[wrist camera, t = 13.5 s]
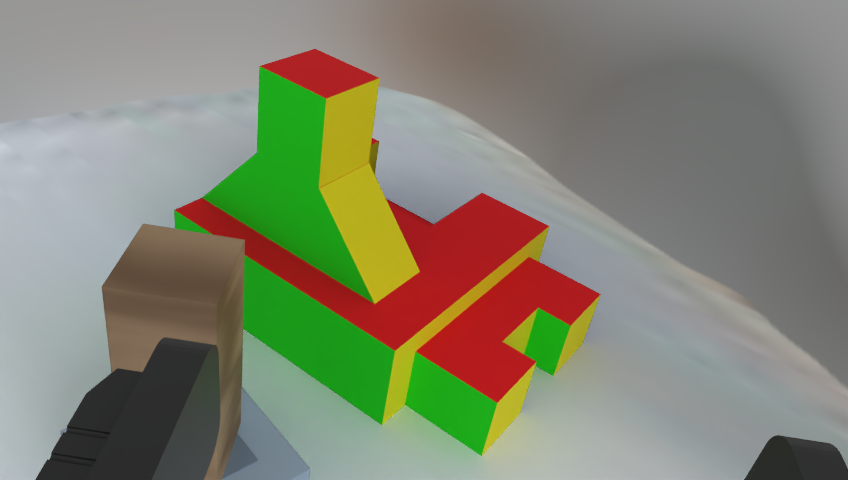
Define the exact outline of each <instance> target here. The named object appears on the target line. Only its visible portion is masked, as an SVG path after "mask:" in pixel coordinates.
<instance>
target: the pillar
mask: <svg viewBox="0 0 848 480" xmlns="http://www.w3.org/2000/svg"><path fill="white" fill-rule="evenodd" d="M244 256H245V240H243V239H236V238H230V237H224V236H217V235H211V234H205V233H198V232H192V231H186V230H179V229H173V228H167V227H160V226H154V225H148V224H143V225H142V226H141V228H140V229H139V231H138V232H137V234H136V235H135V237H134V238H133V240H132V241H131V243H130V245H129V246H128V248H127V249H126V251H125V252H124V254H123V255H122V257H121V258H120V260H119V261H118V263H117V264H116V266H115V267H114V269H113V270H112V272H111V274H110V275H109V277H108V278H107V280H106V281H105V283H104V284H103V286H102V293H103V302H104V311H105V319H106V328H107V337H108V346H109V354H110V363H111V372H114V371H115V370H116V369H117V368H119V369H126V370H132V371H138V372H143V370H144V368H145V366H146V364H147V362H148V361H149V359H150V357H151V355H152V353H153V351H154V349H155V347H156V346H157V344H158V342H159V341H160V340H161V339H162V338H164V337H168V338H174V339H180V340H187V341H193V342H199V343H206V344H212V345H216V346H217V348H218V352H219V379H220V427H219V433H218V438H217V443H216V447H215V451H214V454H213V457H212V460H211V463H210V465H209V468H208V470H207V473H206V476H205V478H204V480H222V477H223V474H224V471H225V468H226V465H227V462H228V459H229V456H230V453H231V450H232V447H233V444H234V441H235V438H236V435H237V432H238V429H239V426H240V423H241V390H242V345H243V301H244Z"/></svg>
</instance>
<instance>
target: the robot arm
mask: <svg viewBox="0 0 848 480" xmlns="http://www.w3.org/2000/svg"><path fill="white" fill-rule="evenodd" d="M219 427H220V379H219V352H218V348H217V346H216V345H212V344H206V343H199V342H193V341H187V340H180V339H174V338H168V337H164V338H162V339H161V340H160V341H159V342H158V344H157V346H156V347H155V349H154V351H153V353H152V355H151V357H150V359H149V361H148V362H147V364H146V366H145V368H144V370H143V372H138V371H132V370H126V369H119V368H117V369H116V370H115V371H114V372H112V373H111V374H110V375H109V376H107V377H106V378H105V379H104V380H103V381H101V382H100V383H99V384H98V385H96V386H95V387H94V388H93V389H91V390H90V391H89V392H88V393H87V394H86V395H85V397H84V398H83V400H82V402H81V403H80V405H79V407H78V409H77V410H76V412H75V414H74V415H73V417H72V419H71V420H70V422H69V424H68V425H67V431H66V432H65V433H64V432H63V434H62V436H61V437H60V439H59V441H58V442H57V444H56V446H55V447H54V449H53V451H52V454H51V458H50V460H47V461H46V463H45V464H44V466H43V468H42V469H41V471H40V473H39V475H38V476H37V478H36V480H204V478H205V476H206V473H207V470H208V468H209V465H210V463H211V460H212V457H213V454H214V451H215V447H216V443H217V438H218V433H219ZM744 480H848V469H847V467H846V464H845V462H844V460H843V458H842V456H841V454H840V452H839V451H838V449H837V448H836V447H835V446H833V445H832V444H829V443H823V442H817V441H810V440H804V439H798V438H791V437H785V436H779V435H778V436H774V437H772V438H771V439H770V440H769V441H768V442H767V444H766V445H765V447H764V449H763V450H762V452H761V453H760V455H759V457H758V458H757V460H756V462H755V463H754V465H753V466H752V468H751V470H750V471H749V473H748V475H747V476H746V478H745V479H744Z"/></svg>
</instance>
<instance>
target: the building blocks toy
mask: <svg viewBox="0 0 848 480" xmlns="http://www.w3.org/2000/svg"><path fill="white" fill-rule="evenodd" d="M378 86H379V78H378V77H375V76H374V75H371V74H369V73H367V72H365V71H362V70H360V69H358V68H356V67H354V66H352V65H349V64H347V63H345V62H343V61H340V60H338V59H336V58H334V57H332V56H330V55H327V54H325V53H323V52H321V51H319V50H316V49H313V50H310V51H307V52H304V53H301V54H297V55H294V56H291V57H288V58H285V59H281V60H278V61H275V62H272V63H268V64H265V65H262V66H260V70H259V103H258V137H257V153H256V154H255V155H254V156H252V157H251V158H250V159H249V160H248V161H246V162H245V163H244V164H243V165H242V166H240V167H239V168H238V169H237V170H235V171H234V172H233V173H232V174H231V175H229V176H228V177H227V178H226V179H225V180H223V181H222V182H221V183H220V184H218V185H217V186H216V187H215V188H214V189H212V190H211V191H210V192H209V193H208V194H206V195H205V196H204V197H203V198H200V199H198V200H196V201H194V202H192V203H189V204H187V205H185V206H183V207H180V208H178V209H176V210H174V214H175V229H179V230H186V231H192V232H198V233H205V234H211V235H217V236H224V237H230V238H236V239H243V240H245V256H244V301H243V329H245V330H246V331H248V332H249V333H250V334H252V335H253V336H255V337H256V338H258V339H259V340H260V341H262V342H263V343H265V344H266V345H268V346H269V347H271V348H272V349H273V350H275V351H276V352H278V353H279V354H281V355H282V356H283V357H285V358H286V359H288V360H289V361H291V362H292V363H294V364H295V365H296V366H298V367H299V368H301V369H302V370H304V371H305V372H306V373H308V374H309V375H311V376H312V377H314V378H315V379H316V380H318V381H319V382H321V383H322V384H324V385H325V386H327V387H328V388H329V389H331V390H332V391H334V392H335V393H337V394H338V395H339V396H341V397H342V398H344V399H345V400H347V401H348V402H350V403H351V404H352V405H354V406H355V407H357V408H358V409H360V410H361V411H362V412H364V413H365V414H367V415H368V416H370V417H371V418H373V419H374V420H375V421H377V422H378V423H380V424H381V425H383V424H384V423H385V422H386V421H387V420H388V419H389V418H390V417H392V416H393V415H394V414H395V413H396V412H397V411H398V410H399V409H400V408H401V407H403V406H404V405H407V406H408V407H410V408H411V409H412V410H414V411H415V412H417V413H418V414H420V415H421V416H423V417H424V418H426V419H427V420H429V421H430V422H432V423H433V424H435V425H436V426H438V427H439V428H441V429H442V430H444V431H445V432H447V433H448V434H450V435H451V436H453V437H454V438H456V439H457V440H459V441H460V442H462V443H463V444H465V445H466V446H468V447H469V448H471V449H472V450H474V451H475V452H477V453H478V454H480V455H481V456H482V455H483V454H484V453H485V452H486V451H487V449H488V448H489V447H490V446H491V445H492V444H493V443H494V442H495V440H496V439H497V438H498V437H499V436H500V435H501V434H502V433H503V432H504V430H505V429H506V428H507V427H508V426H509V425H510V424H511V423H512V422H513V420H514V419H515V418H516V417H517V416H518V415H519V414H520V412H521V409H522V405H523V402H524V399H525V396H526V393H527V390H528V387H529V384H530V381H531V378H532V375H533V372H534V369H535V366H538V367H539V368H541V369H543V370H544V371H546V372H548V373H549V374H551V375H553V376H554V375H555V373H556V372H557V371H558V370H559V369H560V368H561V367H562V366H563V365H564V363H565V362H566V361H567V360H568V359H569V358H570V357H571V356H572V355H573V353H574V352H575V351H576V350H577V349H578V348H579V347H580V346H581V344H582V343H583V341H584V339H585V336H586V333H587V330H588V328H589V325H590V322H591V319H592V317H593V314H594V311H595V309H596V306H597V303H598V300H599V298H600V295H601V294H599V293H597V292H595V291H593V290H591V289H589V288H588V287H586V286H584V285H582V284H580V283H578V282H576V281H574V280H572V279H570V278H568V277H567V276H565V275H563V274H561V273H559V272H557V271H555V270H553V269H551V268H549V267H548V266H546V265H544V264H542V263H540V262H539V259H540V256H541V252H542V249H543V246H544V242H545V239H546V236H547V232H548V229H549V226H548V225H546V224H544V223H542V222H540V221H538V220H536V219H534V218H532V217H530V216H528V215H526V214H524V213H522V212H520V211H518V210H516V209H514V208H512V207H510V206H508V205H505V204H503V203H501V202H499V201H497V200H495V199H493V198H491V197H489V196H487V195H485V194H483V193H481V194H480V195H478V196H476V197H475V198H473V199H472V200H470V201H469V202H467V203H466V204H464V205H463V206H461V207H460V208H458V209H457V210H455V211H454V212H452V213H451V214H449V215H447V216H446V217H444V218H443V219H441V220H440V221H438V222H437V223H435V224H432V223H430V222H428V221H427V220H425V219H423V218H421V217H419V216H417V215H415V214H414V213H412V212H410V211H408V210H406V209H404V208H402V207H400V206H399V205H397V204H395V203H393V202H391V201H389V200H387V199H386V198H385V196H384V194H383V192H382V190H381V187H380V185H379V183H378V181H377V179H376V177H375V168H376V160H377V153H378V145H379V141H377V140H375V139H373V138H372V133H373V125H374V117H375V109H376V102H377V94H378Z"/></svg>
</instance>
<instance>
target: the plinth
mask: <svg viewBox="0 0 848 480" xmlns="http://www.w3.org/2000/svg"><path fill="white" fill-rule="evenodd" d="M66 431H67V428H66V429H64V430H62V431H61V436H62V434H63V432H64V433H65V432H66ZM309 477H310V468H309V467H308V465H307V464H306V463H305V462H304V461H303V460H302V458H301V457H300V456H299V455H298V454H297V452H296V451H295V450H294V449H293V448H292V446H291V445H290V444H289V443H288V442H287V440H286V439H285V438H284V437H283V436H282V434H281V433H280V432H279V431H278V430H277V428H276V427H275V426H274V425H273V424H272V423H271V421H270V420H269V419H268V418H267V417H266V415H265V414H264V413H263V412H262V411H261V409H260V408H259V407H258V406H257V405H256V403H255V402H254V401H253V400H252V399H251V397H250V396H249V395H248V394H247V393H246V391H245V390H244V389H243V388H242V390H241V423H240V426H239V429H238V432H237V435H236V438H235V441H234V444H233V447H232V450H231V453H230V456H229V459H228V462H227V465H226V468H225V471H224V474H223V477H222V480H309Z"/></svg>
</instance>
